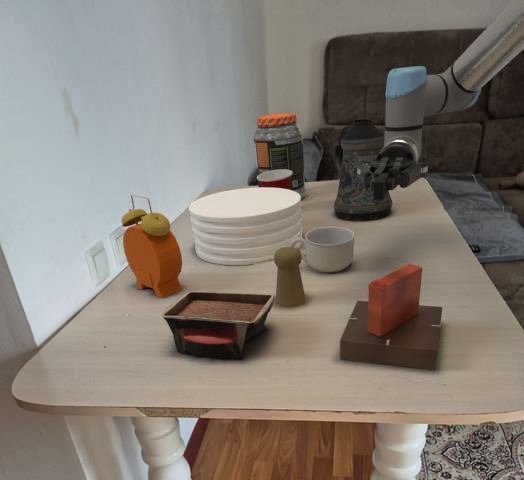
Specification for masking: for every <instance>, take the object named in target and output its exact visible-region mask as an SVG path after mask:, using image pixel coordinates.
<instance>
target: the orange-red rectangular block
mask: <svg viewBox="0 0 524 480" xmlns="http://www.w3.org/2000/svg"><path fill="white" fill-rule="evenodd" d="M422 276H423V267H422V266H420V265H415V264H412V263H407V264H405V265H403V266H402V267H400V268H397V269H396V270H393V271H392V272H390V273H388V274H386V275H384V276H382V277H380V278H378V279H377V280H375V279H374V280H373V281H370V282H369V283H368V293H367V294H368V295H367V296H368V297H367V301H368V326H367V332H369V333H372V334H374V335H377V336H379V337H381V336H383V335H384V334H386V333H387V332H389V331H391V330H392V329H394V328H396V327H397V326H399V325H400V324H402V323H404V322H405V321H407V320H408V319H410V318H412V317H413V316H415V315H417V314H418V311H419V305H420V301H421V289H422V287H421V286H422Z"/></svg>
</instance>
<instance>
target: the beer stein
mask: <svg viewBox="0 0 524 480" xmlns="http://www.w3.org/2000/svg"><path fill="white" fill-rule="evenodd" d="M384 139H385V132H383V131H382V130H380V129H378V128H377V127H376V126H375V124H373V122H372V119H355V120H353V122H352V124H351V125H345V126H344V127H342V129H341V131H340V136H339V137H338V138H337V139H336V140H335V144H334V145H333V149H332V159H333V163H334V166H335V169H336V172H337V174H338V176H339V182H338V189H337V192H336V198H335V201H334V203H333V209H334V213H335V217H336V218H338V219H340V220H343V221H347V222H372V221H379V220H382V219H384V218H387V217H389V216H390V214H391V210H392V206H393V200H392V197H391V194H390V190H388V191H387V193H386V195H385V197H384V199H383V200H373V198H374V193H373V190H370V188H364V187H363V184H362V180H361V179H360V178H358V177H357V164H358V163H360V162H362V163H365V164H368V166H370V164H371V163H372V162H374V161H375V159H376V157H377V155H378V154H379V152H380V151H381V150H382V148H383V147H384ZM371 175H372V174H371Z"/></svg>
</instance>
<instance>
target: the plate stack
mask: <svg viewBox="0 0 524 480" xmlns="http://www.w3.org/2000/svg"><path fill="white" fill-rule="evenodd" d="M301 204H302V199H301V196H300V194H298V193H297V192H295V191H292V190H288V189H282V188H269V187H259V188H258V187H246V188H245V187H244V188H236V189H229V190H225V191H218V192H215V193H212V194H208V195H205V196H202V197H200V198H198V199H195V200H194V201H192V202H191V203H190V204H189V206H188V213H189V215H190V225H191V230H192V234H193V242H194V245H195V248H194V249H195V254H196V256H197V257H198V258H199V259H201V260H203V261H204V262H207V263H211V264H216V265H223V266H247V265H254V264H255V263H260V262H266V261H271V260H274V254H275V252H276V251H277V250H278V249H280V248H283V247H290V243H291V241H292V240H293V239H294V238H296V237H301V238H304V237H303V225H302V224H303V216H302V206H301ZM302 245H303V244H302V243H300V242H297V243H295V245H294V247H295V248H297V249H298V250H299V248H300V247H301V246H302Z"/></svg>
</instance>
